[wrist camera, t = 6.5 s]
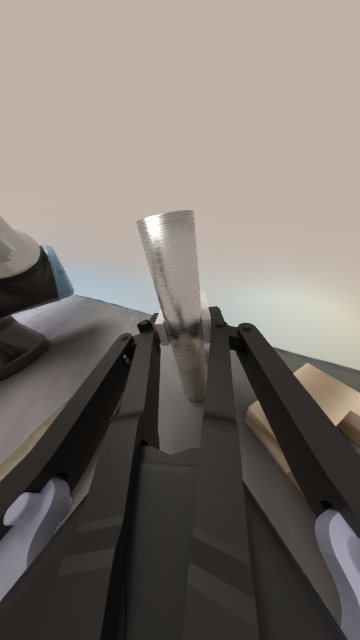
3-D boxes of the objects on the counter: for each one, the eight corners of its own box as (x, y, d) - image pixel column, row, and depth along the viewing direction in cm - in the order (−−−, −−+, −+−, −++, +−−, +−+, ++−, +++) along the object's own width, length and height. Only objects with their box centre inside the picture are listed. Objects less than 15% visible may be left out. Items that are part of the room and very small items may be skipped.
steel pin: (180, 384, 20) (132, 226, 9) (199, 373, 21) (178, 218, 10) (191, 406, 17) (142, 215, 6) (212, 392, 18) (205, 207, 7)
